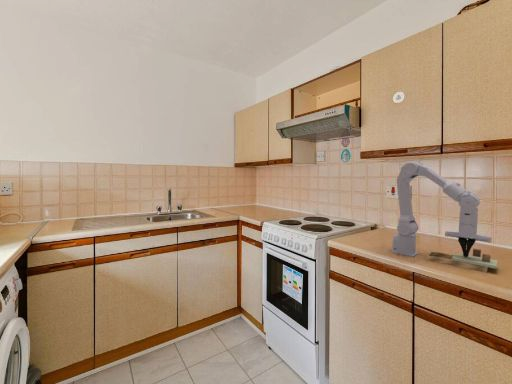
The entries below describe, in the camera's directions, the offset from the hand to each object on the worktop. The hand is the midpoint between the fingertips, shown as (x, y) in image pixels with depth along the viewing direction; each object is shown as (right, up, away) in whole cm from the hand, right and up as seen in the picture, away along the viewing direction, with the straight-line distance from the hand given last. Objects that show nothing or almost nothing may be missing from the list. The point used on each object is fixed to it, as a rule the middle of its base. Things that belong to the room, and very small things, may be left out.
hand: (465, 256), depth 104 cm
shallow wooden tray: (-2, -4, +2) cm, 5 cm away
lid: (+2, -2, -2) cm, 3 cm away
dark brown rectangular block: (+8, -4, +4) cm, 10 cm away
